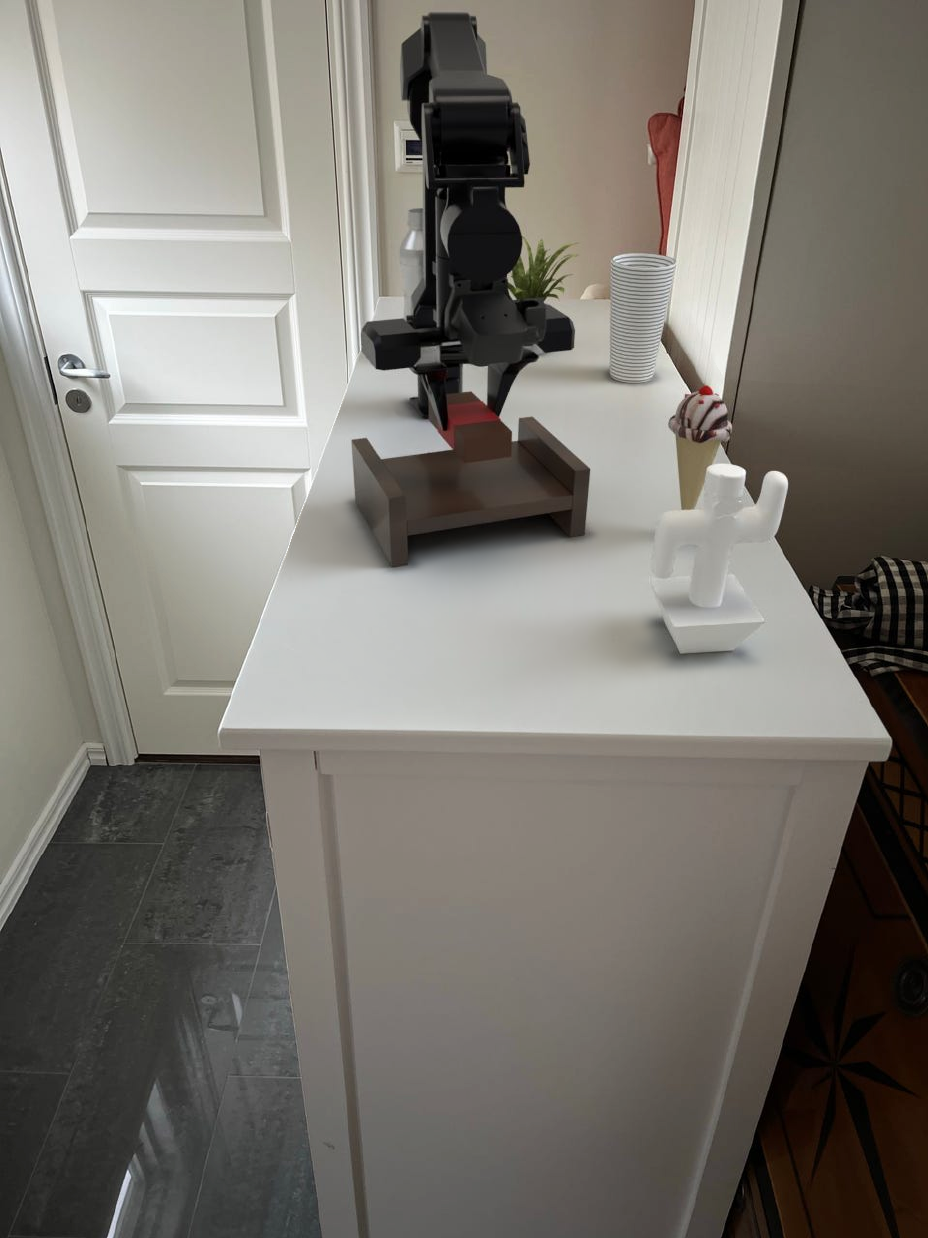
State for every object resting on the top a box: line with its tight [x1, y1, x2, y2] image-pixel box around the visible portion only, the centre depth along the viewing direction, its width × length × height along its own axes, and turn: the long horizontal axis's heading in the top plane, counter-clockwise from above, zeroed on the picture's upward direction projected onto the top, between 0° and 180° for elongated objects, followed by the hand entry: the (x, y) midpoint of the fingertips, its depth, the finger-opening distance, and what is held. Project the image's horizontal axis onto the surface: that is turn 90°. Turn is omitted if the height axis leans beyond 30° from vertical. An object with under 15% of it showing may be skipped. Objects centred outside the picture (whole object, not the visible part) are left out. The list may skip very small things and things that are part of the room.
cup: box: [609, 252, 678, 384], centre depth 125 cm, size 8×8×16 cm
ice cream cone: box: [667, 384, 733, 510], centre depth 87 cm, size 6×6×15 cm
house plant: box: [508, 235, 579, 355], centre depth 135 cm, size 14×14×16 cm
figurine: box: [648, 463, 789, 655], centre depth 72 cm, size 7×9×15 cm
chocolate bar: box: [428, 391, 513, 463], centre depth 88 cm, size 11×5×3 cm, turn 19°
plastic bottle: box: [398, 207, 424, 321], centre depth 130 cm, size 6×7×20 cm
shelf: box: [350, 416, 591, 568], centre depth 92 cm, size 14×20×7 cm
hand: (467, 426), depth 88 cm, fingers closed on chocolate bar, 4 cm apart
